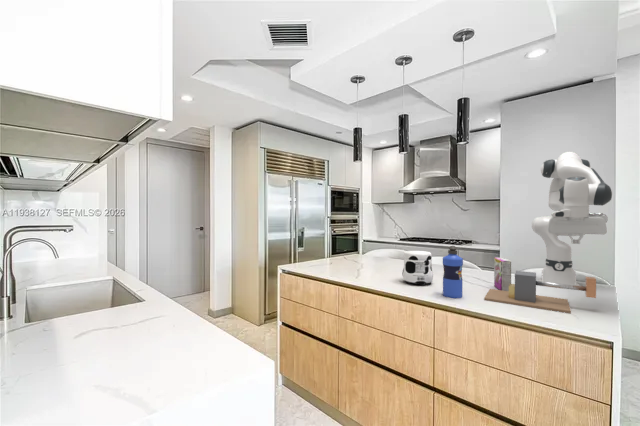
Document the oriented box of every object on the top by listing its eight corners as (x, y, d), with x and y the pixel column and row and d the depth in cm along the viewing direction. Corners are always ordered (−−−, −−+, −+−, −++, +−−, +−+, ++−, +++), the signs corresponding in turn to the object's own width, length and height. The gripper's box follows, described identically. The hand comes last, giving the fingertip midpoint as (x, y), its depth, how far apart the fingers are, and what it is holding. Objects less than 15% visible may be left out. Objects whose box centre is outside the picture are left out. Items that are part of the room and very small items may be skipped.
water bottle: (439, 295, 152) (439, 246, 152) (446, 291, 159) (446, 244, 159) (459, 299, 146) (459, 247, 146) (465, 295, 153) (465, 245, 153)
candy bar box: (493, 286, 170) (493, 257, 170) (503, 286, 169) (503, 257, 169) (501, 291, 159) (501, 260, 159) (511, 292, 158) (511, 261, 158)
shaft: (526, 287, 145) (526, 270, 145) (594, 295, 131) (594, 277, 131) (525, 289, 142) (525, 272, 142) (595, 298, 128) (596, 279, 127)
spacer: (509, 294, 150) (509, 283, 150) (515, 295, 149) (515, 284, 149) (508, 297, 146) (508, 286, 145) (514, 298, 144) (514, 286, 144)
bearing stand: (489, 290, 161) (490, 266, 161) (567, 301, 143) (567, 273, 142) (484, 300, 145) (484, 272, 145) (570, 313, 126) (571, 282, 126)
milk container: (415, 278, 191) (415, 249, 191) (439, 283, 177) (439, 252, 176) (396, 281, 182) (396, 251, 182) (419, 288, 167) (419, 255, 167)
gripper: (606, 212, 133) (606, 244, 133) (547, 212, 145) (547, 241, 145) (608, 213, 127) (608, 246, 128) (547, 213, 140) (547, 243, 140)
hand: (575, 243), depth 137 cm, fingers closed
